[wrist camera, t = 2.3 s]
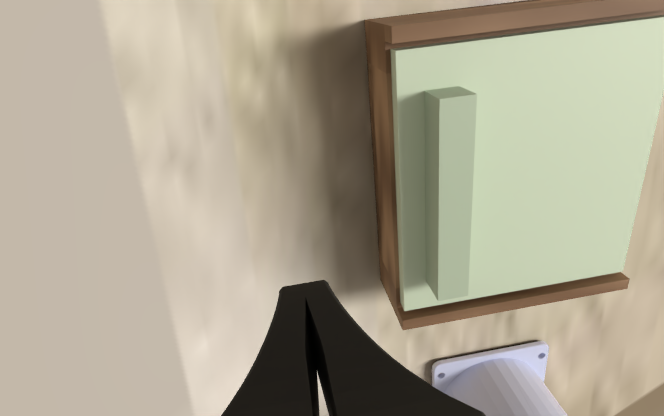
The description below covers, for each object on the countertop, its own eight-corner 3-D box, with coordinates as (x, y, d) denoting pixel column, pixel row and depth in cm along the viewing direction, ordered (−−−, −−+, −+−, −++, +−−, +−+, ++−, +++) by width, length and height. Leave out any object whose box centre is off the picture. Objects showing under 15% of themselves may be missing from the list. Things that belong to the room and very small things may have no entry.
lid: (613, 264, 24) (647, 289, 22) (400, 302, 23) (414, 333, 20) (666, 14, 18) (718, 16, 16) (390, 48, 17) (408, 56, 15)
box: (573, 245, 27) (627, 288, 23) (380, 279, 26) (402, 330, 22) (615, -11, 21) (698, -12, 17) (364, 19, 20) (391, 26, 16)
